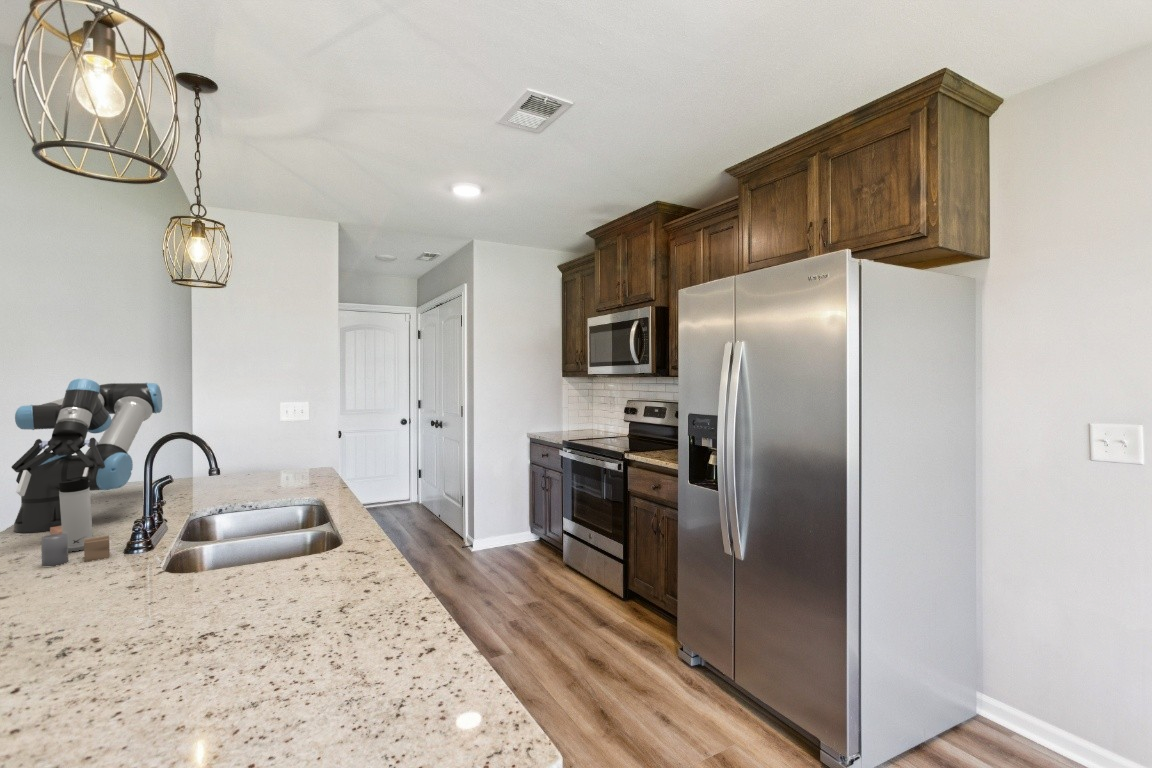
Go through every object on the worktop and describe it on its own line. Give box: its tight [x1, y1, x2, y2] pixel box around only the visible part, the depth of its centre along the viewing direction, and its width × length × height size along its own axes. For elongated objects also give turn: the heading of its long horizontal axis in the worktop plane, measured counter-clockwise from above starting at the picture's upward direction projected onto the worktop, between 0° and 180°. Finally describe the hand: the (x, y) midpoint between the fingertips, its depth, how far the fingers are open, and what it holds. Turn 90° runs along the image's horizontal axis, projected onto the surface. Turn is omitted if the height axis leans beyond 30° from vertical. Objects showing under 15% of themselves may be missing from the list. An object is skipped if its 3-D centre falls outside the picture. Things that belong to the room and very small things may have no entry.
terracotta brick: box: [49, 526, 62, 535], centre depth 164 cm, size 8×4×4 cm, turn 55°
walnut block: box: [83, 534, 111, 563], centre depth 149 cm, size 5×5×5 cm
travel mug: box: [59, 476, 94, 553], centre depth 156 cm, size 6×7×20 cm
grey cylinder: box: [40, 534, 69, 567], centre depth 145 cm, size 5×5×7 cm
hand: (51, 492), depth 156 cm, fingers open, 13 cm apart
